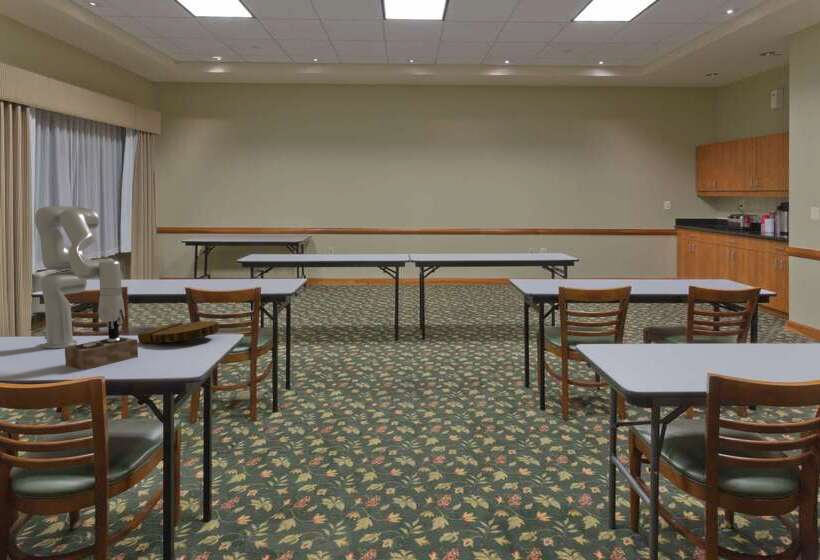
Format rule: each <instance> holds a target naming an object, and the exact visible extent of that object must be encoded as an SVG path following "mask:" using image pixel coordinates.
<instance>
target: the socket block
mask: <svg viewBox="0 0 820 560" xmlns="http://www.w3.org/2000/svg"><path fill="white" fill-rule="evenodd" d="M119 337H120V340H117V341H107V338H105V339H104V338H103V339H100V340H99V339H98V340H95V341H90V342H85V343H81V344H76V345H74V346H70V347H65V348H64V357H65V367H71V368H74V369H75V368H76V369H81V370H85V371H87V370H90V369H96V368H100V367H103V366H107V365H111V364H114V363H118V362H123V361H127V360H130V359H135V358H138V357H139V351H138V348H139V347H138V339H137V338H136V339H135V338H128V337H124V336H123V337H122V336H119ZM87 343H96V345H93V346H89V347H86V346H83V344H87ZM134 357H135V358H134Z"/></svg>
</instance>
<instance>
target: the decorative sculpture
mask: <svg viewBox="0 0 820 560" xmlns="http://www.w3.org/2000/svg"><path fill="white" fill-rule="evenodd" d="M219 329H220V326H219V322H218V321H215V320H214V321H213V320H207V321H206V320H205V321H196V322H187V323H183V322H173V323H168V324H166V325H162V326H159V327H157V328H153V329H151V330H150V329H149V330H146V331H143V332H140V333H138V334H137V340H138V342H139V343H140V344H141V343H146V344H155V343H157V344H165V343H170V342H174V343H175V342H176V343H178V342H183V341H189V340H194V339H200V338H202V337H207V336H209V335H210V336H211V335H214V334H216V333H218V332H219Z"/></svg>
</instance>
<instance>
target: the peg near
mask: <svg viewBox="0 0 820 560" xmlns="http://www.w3.org/2000/svg"><path fill="white" fill-rule="evenodd" d="M86 343H87V344H84V343H82V344H83V346H86V347H89V346H93V345H96V343H89V342H86Z"/></svg>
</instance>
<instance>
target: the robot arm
mask: <svg viewBox="0 0 820 560" xmlns="http://www.w3.org/2000/svg"><path fill="white" fill-rule="evenodd" d="M34 223H35V227H36V229H37V230H36V231H37V232H38V236H39V240H40V250H41V258H42V259H41V260H42V265H43V267H44V268H45V269H47V270H51V271H52V270H54V271H55V270H69V271H61V272H53V273H52V272H51V273H47V274H45V275H43V276H42V277H41V279H40V288H41V293H42V297H43V301H44V315H45V327H46V336H44V338H43V339H44V340H46V342H45V343H43V344H42V347H43V348H44V349H49V350H50V349H52V350H53V349H65V347H70V346H75V345H78V340H75V339H73V323H72V322H73V321H72V308H71V307H72V306H71V302H70V301H69V300H68V298H67V297H66V296H65V295H71V294H78V293H83V292H85V290H86V288H87V284H88V283H87V282H88V281H87V280H92V279H93V280H95V279H99V292H100V295H99V299H98V319H99V320H100V321H102V322H103V323H104V324H105V325H106V327H107V329H108V330H107V331H108V338H109V339H114V338H118V337H120V336H119V328H120V325H123V324H124V321H123V320H125V319H126V311H125V303H124V298H123V292H122V291H123V290H122V289H123V288H122V275H121V272H122V271H121V262H120V261H118V260H110V259H107V258H99V259H85V254H84V253H83V250H85V249H87V248H88V247H90V246H91V245H92V244H94V242H95V241H96V240H95V239H96V238H95V236H94V234H93V232H92V231H91V230H94V229H97V228H98V227H99V225H100V218H99V214H97V212H96V211H95V210H93V209H92V208H85V207H80V206H61V205H60V206H59V205H57V206H54V205H53V206H52V205H50V206H49V205H48V206H43V207H40V208H38V209H37V210H36V211H35V215H34ZM57 227H60V228H61V227H62V229H63V230H64V232H65V235H66V236H67V237H68V240H69V241H70V243H71V245H70V246H65V238H64V235H63V234H62V232H61V231H60V230H59V229H58V228H57Z"/></svg>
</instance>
